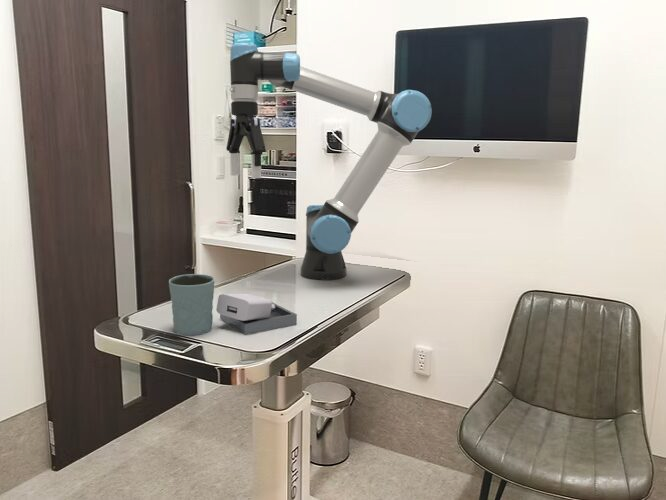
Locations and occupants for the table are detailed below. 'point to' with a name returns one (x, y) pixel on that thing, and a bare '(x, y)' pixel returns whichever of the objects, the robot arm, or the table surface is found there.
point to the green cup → (192, 303)
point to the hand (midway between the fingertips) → (245, 176)
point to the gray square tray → (264, 321)
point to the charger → (244, 306)
